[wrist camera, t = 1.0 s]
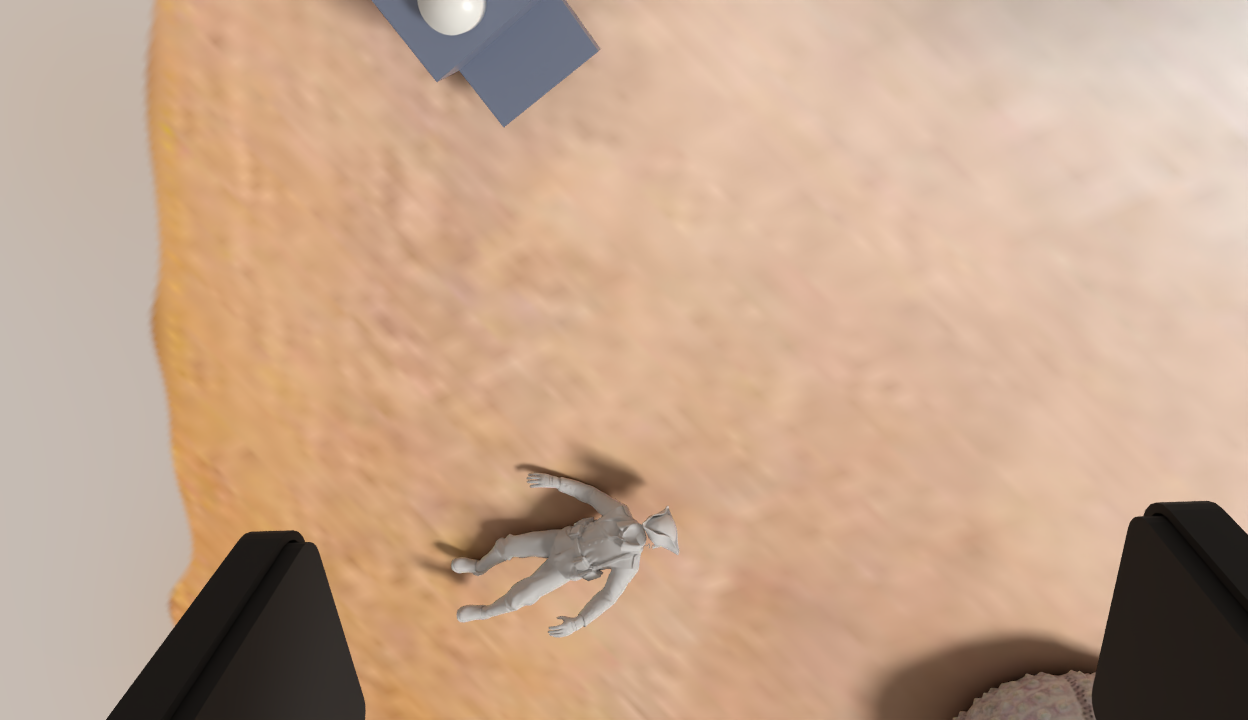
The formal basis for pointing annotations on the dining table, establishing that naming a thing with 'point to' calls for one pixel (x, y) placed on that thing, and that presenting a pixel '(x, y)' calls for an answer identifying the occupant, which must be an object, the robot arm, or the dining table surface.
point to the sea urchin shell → (1037, 699)
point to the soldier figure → (573, 555)
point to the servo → (495, 45)
